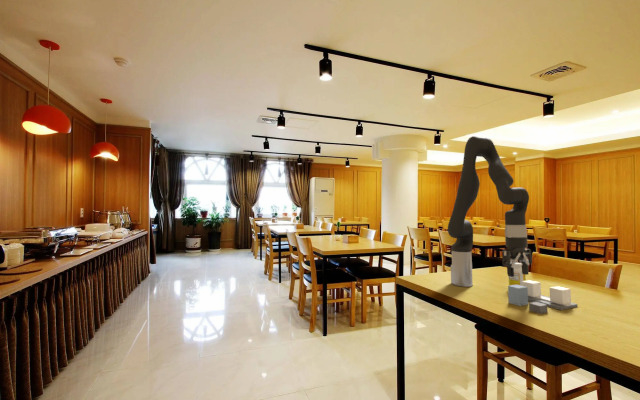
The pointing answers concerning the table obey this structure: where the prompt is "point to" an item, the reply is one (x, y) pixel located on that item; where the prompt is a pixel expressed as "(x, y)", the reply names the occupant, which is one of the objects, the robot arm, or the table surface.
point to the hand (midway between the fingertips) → (518, 275)
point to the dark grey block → (538, 307)
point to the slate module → (518, 295)
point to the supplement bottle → (517, 275)
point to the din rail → (558, 295)
